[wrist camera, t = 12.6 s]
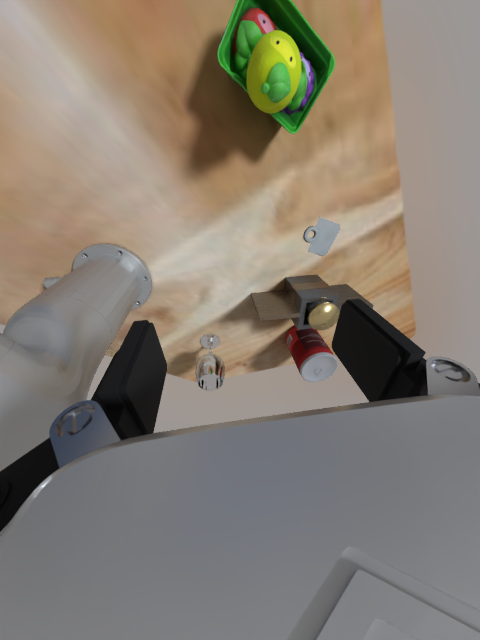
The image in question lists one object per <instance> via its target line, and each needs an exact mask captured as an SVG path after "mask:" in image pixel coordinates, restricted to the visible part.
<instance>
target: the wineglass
mask: <svg viewBox="0 0 480 640" xmlns="http://www.w3.org/2000/svg"><path fill="white" fill-rule="evenodd" d="M200 342H201V345H202V346H203V347H204V348H207V349H209V353H208V354H206V355H204V356H202V357H201V358H200V359H199V360H198V362H197V364H196V379H197V382H198V386H199V387H200V388H201V389H203V390H206V391H213V390H216V389H218V388H220V387H221V386H222V384H223V380H224V376H225V365H224V362H223V360H222V359H221V358H220V357H219V356H218V355H215V354H212V351H211V349H213V348H216V347H217V346H218V345H219V343H220V339H219V337H218V336H216V335H214V334H206V335H204V336H203V337H202V338H201V341H200Z"/></svg>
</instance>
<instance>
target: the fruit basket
mask: <svg viewBox="0 0 480 640" xmlns="http://www.w3.org/2000/svg"><path fill="white" fill-rule="evenodd" d="M217 57H218V61H219V64H220V65H221V67H222V68H223V69H224V70H225V71H226V72H227V73H228V75H229V76H230V77H231V78H232V79H233V80H234V81H235V82H237V83H238V84H239V85H240V86H241V87H243V89H244V90H245V91H246V92H247V93H248V94H249V96H250V98H251V100H252V102H253V103H254V105H255V106H256V107H257V108H259V109H260V110H261V111H263V112H265V113H269V114H270V115H271V116H272V117H273V118H274V119H275V120H276V121H277V122H278V123H279V124H280V125H282V126H283V127H284V128H285V129H286V130H287V131H288V132H289V133H291V134H294V133H296V132H298V130H299V129H300V127H301V126H302V124H303V122H304V120H305V118H306V117H307V115H308V113H309V112H310V110H311V108H312V107H313V105H314V103H315V101H316V100H317V98H318V96H319V94H320V93H321V91H322V89H323V87H324V86H325V84H326V83H327V81H328V79H329V77H330V76H331V74H332V72H333V70H334V67H335V58H334V55H333V54H332V52H331V51H330V50H329V49H328V47H327V46H326V45H325V44H324V42H323V41H322V40H321V38H320V37H319V36H318V35H317V34H316V32H315V31H314V30H313V28H312V27H311V26H310V24H309V23H308V22H307V20H306V19H305V18H304V16H303V15H302V14H301V13H300V11H299V10H298V8H297V7H296V6H295V5H294V3H293V2H292V1H291V0H237V2H236V4H235V7H234V10H233V12H232V15H231V17H230V20H229V22H228V25H227V27H226V30H225V33H224V35H223V38H222V40H221V43H220V45H219V48H218V52H217Z"/></svg>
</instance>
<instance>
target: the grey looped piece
mask: <svg viewBox="0 0 480 640" xmlns="http://www.w3.org/2000/svg"><path fill="white" fill-rule="evenodd" d="M312 230H313V231H315V232H314V236H313V238H309V237H308V233H309V232H310V231H312ZM339 230H340V225H339V224H337V223H334V222H331V221H329V220H326V219H324V218H321V217H319V220H318V223H317V226H316V227H315V226H311V227H308V228H307V229H306V231H305V232H304V239H305V241H307V242H311V244H310V247H309V250H308V252H311V253H314V254H317V255H321V256H325V255H326V254H327V253H328V251H329V249H330V247H331V245H332V243H333V241H334V240H335V238H336V236H337V234H338V232H339Z"/></svg>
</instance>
